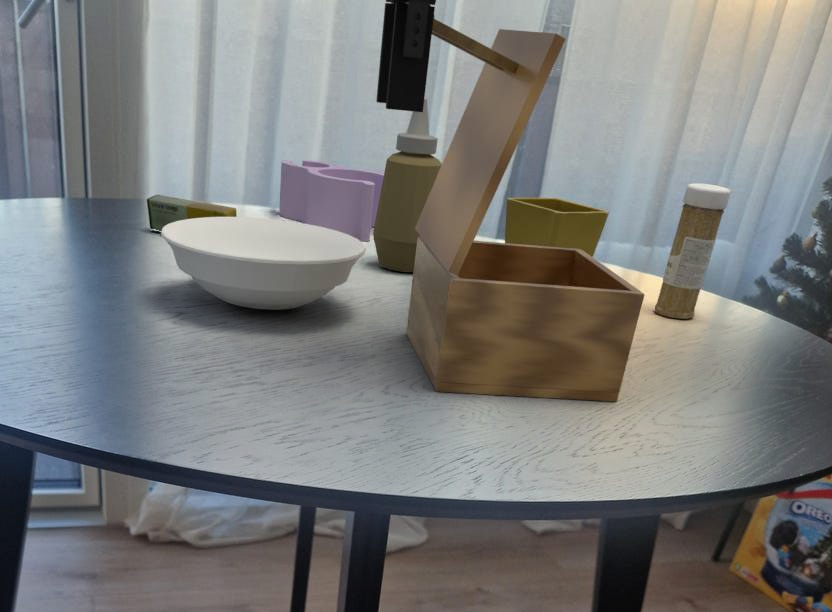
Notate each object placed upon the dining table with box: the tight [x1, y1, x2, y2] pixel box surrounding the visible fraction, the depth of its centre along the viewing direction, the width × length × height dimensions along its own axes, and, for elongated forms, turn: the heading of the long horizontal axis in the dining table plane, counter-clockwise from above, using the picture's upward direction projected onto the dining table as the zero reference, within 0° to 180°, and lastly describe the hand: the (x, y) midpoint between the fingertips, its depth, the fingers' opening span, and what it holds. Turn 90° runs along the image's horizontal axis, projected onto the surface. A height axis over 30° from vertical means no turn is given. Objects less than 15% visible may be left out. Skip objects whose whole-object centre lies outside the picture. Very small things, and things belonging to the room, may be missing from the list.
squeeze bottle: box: [372, 98, 443, 273], centre depth 108 cm, size 8×8×18 cm
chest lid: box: [405, 2, 566, 275], centre depth 72 cm, size 16×17×10 cm
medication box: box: [146, 194, 238, 231], centre depth 115 cm, size 12×3×4 cm, turn 63°
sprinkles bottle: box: [654, 182, 731, 320], centre depth 102 cm, size 5×5×13 cm
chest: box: [405, 236, 645, 403], centre depth 81 cm, size 16×17×9 cm
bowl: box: [160, 216, 367, 311], centre depth 91 cm, size 20×20×6 cm
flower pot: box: [504, 197, 610, 258], centre depth 110 cm, size 9×9×9 cm
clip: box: [278, 159, 384, 242], centre depth 131 cm, size 20×12×7 cm, turn 43°
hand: (398, 106), depth 71 cm, fingers closed on chest lid, 5 cm apart
